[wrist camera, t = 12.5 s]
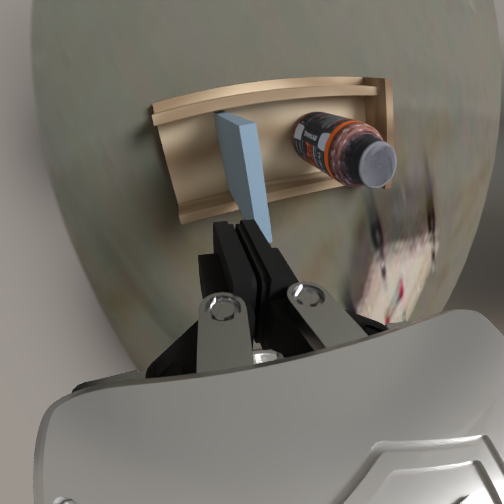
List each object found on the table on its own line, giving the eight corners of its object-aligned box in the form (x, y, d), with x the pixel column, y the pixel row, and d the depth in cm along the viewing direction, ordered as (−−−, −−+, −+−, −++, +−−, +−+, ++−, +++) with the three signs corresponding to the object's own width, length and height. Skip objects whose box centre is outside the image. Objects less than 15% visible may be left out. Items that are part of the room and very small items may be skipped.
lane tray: (367, 174, 33) (391, 188, 29) (182, 216, 30) (184, 238, 26) (364, 77, 26) (391, 79, 22) (153, 103, 23) (147, 105, 19)
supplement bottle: (278, 138, 27) (333, 166, 18) (314, 99, 26) (383, 111, 16) (314, 172, 30) (373, 213, 21) (346, 136, 29) (415, 164, 20)
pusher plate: (237, 185, 29) (272, 241, 19) (227, 188, 29) (258, 245, 19) (223, 110, 24) (256, 122, 15) (213, 112, 24) (238, 125, 14)
